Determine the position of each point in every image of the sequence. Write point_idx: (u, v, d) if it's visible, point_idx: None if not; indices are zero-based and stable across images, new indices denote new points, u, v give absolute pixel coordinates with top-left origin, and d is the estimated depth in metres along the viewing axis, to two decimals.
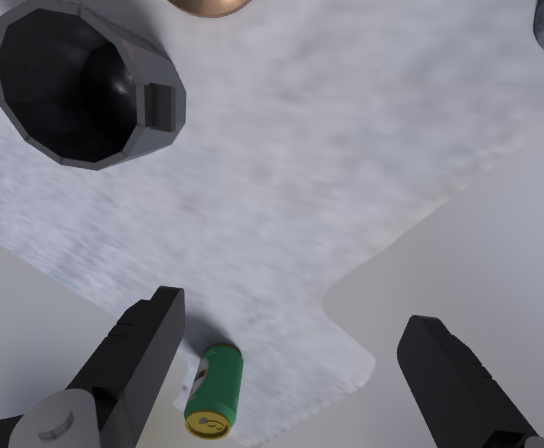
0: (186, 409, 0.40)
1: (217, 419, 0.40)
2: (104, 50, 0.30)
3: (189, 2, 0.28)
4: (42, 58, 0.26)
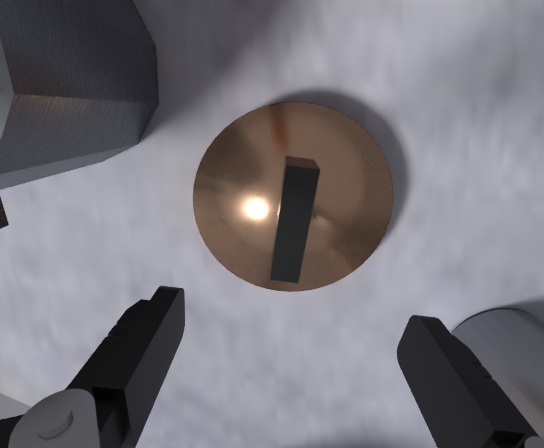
0: None
1: None
2: None
3: (204, 188, 0.20)
4: None
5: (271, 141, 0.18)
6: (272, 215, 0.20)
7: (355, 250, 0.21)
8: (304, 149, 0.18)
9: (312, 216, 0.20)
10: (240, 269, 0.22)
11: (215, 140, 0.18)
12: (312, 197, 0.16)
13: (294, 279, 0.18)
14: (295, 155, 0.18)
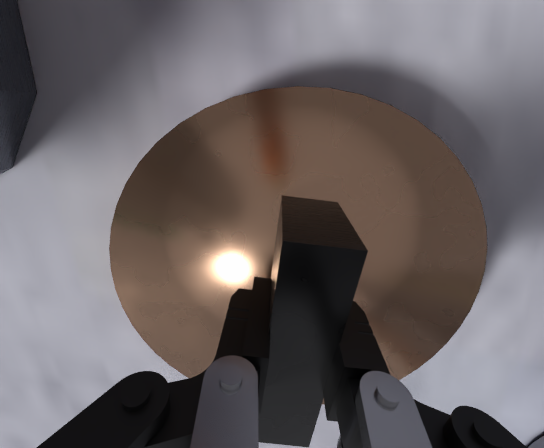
0: None
1: None
2: None
3: (129, 252, 0.10)
4: None
5: (253, 168, 0.09)
6: None
7: (405, 350, 0.12)
8: (319, 183, 0.09)
9: None
10: None
11: (140, 166, 0.09)
12: (344, 308, 0.07)
13: (301, 441, 0.09)
14: (301, 194, 0.09)
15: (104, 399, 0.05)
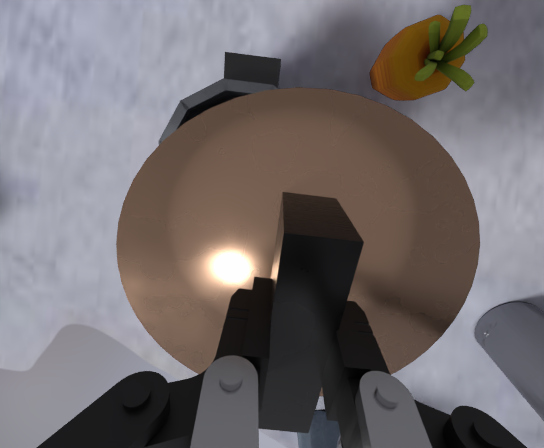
0: None
1: None
2: None
3: (136, 247, 0.11)
4: None
5: (255, 165, 0.09)
6: None
7: (401, 343, 0.12)
8: (318, 180, 0.09)
9: None
10: None
11: (147, 164, 0.09)
12: (342, 297, 0.07)
13: (301, 428, 0.10)
14: (301, 191, 0.10)
15: (104, 399, 0.05)
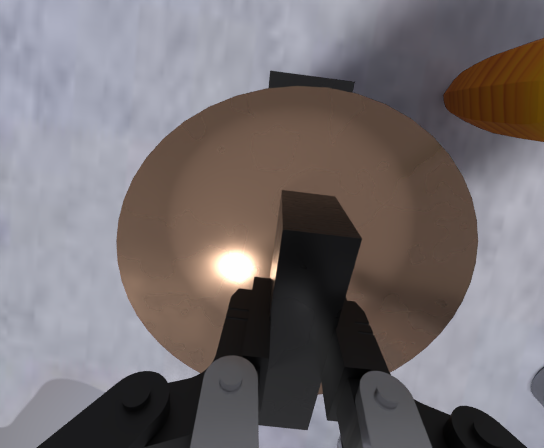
0: None
1: None
2: None
3: (136, 245, 0.11)
4: None
5: (254, 163, 0.09)
6: None
7: (400, 341, 0.13)
8: (317, 178, 0.10)
9: None
10: (209, 365, 0.14)
11: (146, 162, 0.09)
12: (341, 293, 0.07)
13: (300, 424, 0.10)
14: (300, 189, 0.10)
15: (104, 399, 0.05)
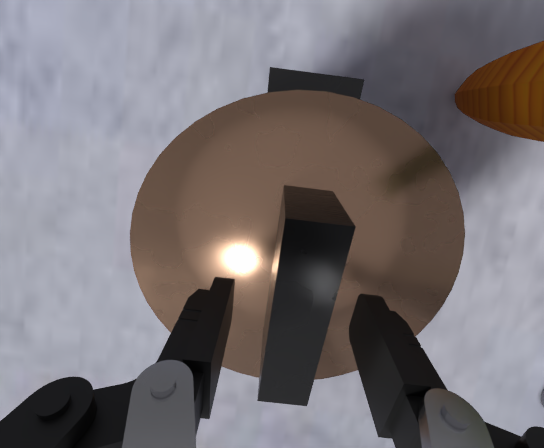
0: None
1: None
2: None
3: (148, 236, 0.12)
4: None
5: (258, 161, 0.10)
6: (262, 278, 0.12)
7: None
8: (316, 174, 0.10)
9: None
10: None
11: (159, 159, 0.10)
12: (337, 276, 0.08)
13: (300, 400, 0.10)
14: (300, 184, 0.11)
15: (14, 415, 0.05)
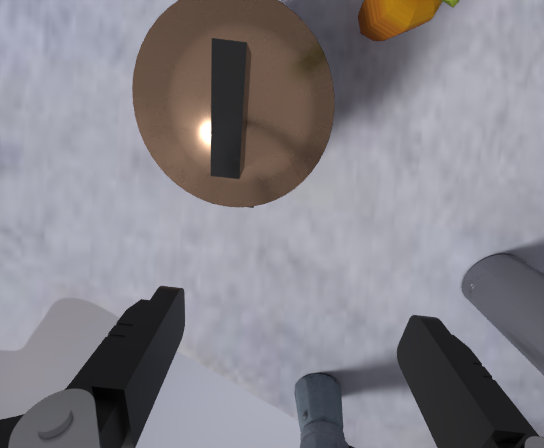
0: None
1: None
2: None
3: (143, 90, 0.19)
4: None
5: (206, 33, 0.18)
6: None
7: (302, 157, 0.21)
8: (240, 41, 0.18)
9: (256, 119, 0.20)
10: (189, 183, 0.22)
11: (149, 33, 0.18)
12: (242, 76, 0.16)
13: (235, 174, 0.18)
14: None
15: None
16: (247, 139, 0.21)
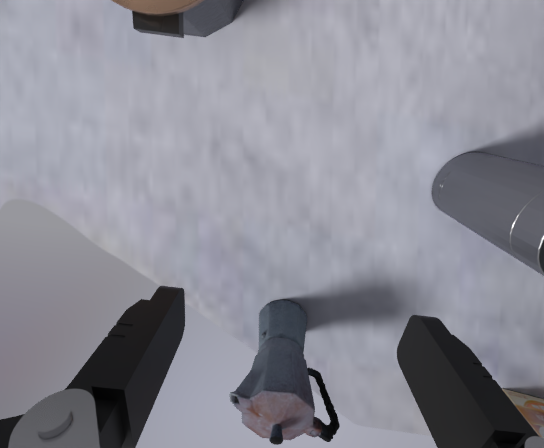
0: None
1: None
2: None
3: None
4: None
5: None
6: None
7: None
8: None
9: None
10: None
11: None
12: None
13: None
14: None
15: None
16: None
